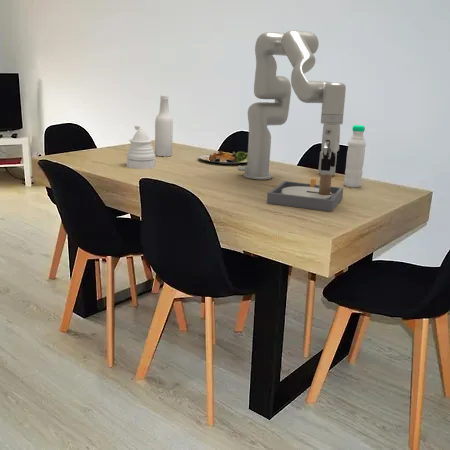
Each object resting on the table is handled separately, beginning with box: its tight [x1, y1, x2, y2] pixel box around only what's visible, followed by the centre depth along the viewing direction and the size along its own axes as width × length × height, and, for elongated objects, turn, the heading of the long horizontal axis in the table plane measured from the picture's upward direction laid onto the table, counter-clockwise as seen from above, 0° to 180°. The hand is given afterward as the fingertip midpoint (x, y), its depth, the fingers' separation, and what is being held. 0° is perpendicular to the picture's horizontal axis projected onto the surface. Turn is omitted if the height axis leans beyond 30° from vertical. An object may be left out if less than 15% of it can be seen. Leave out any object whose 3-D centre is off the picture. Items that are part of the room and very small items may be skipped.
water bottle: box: [343, 124, 367, 189], centre depth 225 cm, size 7×7×25 cm
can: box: [317, 150, 338, 177], centre depth 248 cm, size 8×8×12 cm
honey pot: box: [126, 125, 156, 170], centre depth 249 cm, size 13×13×18 cm
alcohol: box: [154, 94, 174, 157], centre depth 276 cm, size 9×9×30 cm
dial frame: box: [266, 178, 344, 212], centre depth 201 cm, size 23×23×6 cm
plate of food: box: [198, 150, 248, 165], centre depth 272 cm, size 28×28×6 cm
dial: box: [282, 174, 333, 200], centre depth 200 cm, size 18×18×8 cm
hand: (327, 168), depth 195 cm, fingers open, 9 cm apart
